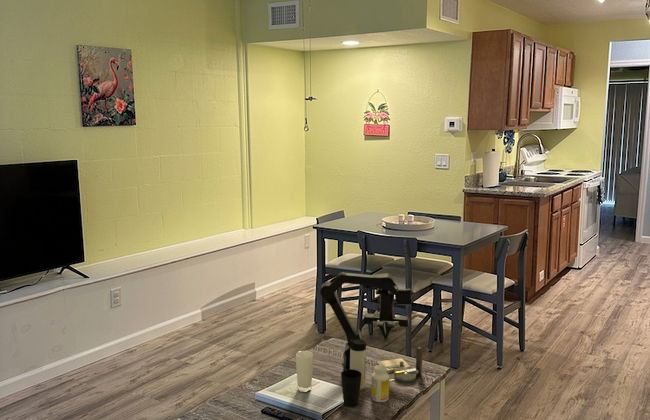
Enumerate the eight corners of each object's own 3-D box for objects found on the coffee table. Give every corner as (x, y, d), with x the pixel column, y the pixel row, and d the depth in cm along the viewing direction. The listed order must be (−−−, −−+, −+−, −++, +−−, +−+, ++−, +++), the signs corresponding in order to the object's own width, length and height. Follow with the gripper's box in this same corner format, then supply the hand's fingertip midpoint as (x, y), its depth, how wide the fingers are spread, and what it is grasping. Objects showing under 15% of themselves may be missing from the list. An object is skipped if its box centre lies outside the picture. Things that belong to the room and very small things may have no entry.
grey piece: (400, 384, 240) (401, 356, 238) (390, 374, 248) (390, 347, 246) (427, 379, 245) (428, 351, 242) (415, 370, 253) (416, 343, 251)
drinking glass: (305, 384, 240) (305, 349, 237) (316, 390, 235) (316, 354, 232) (292, 389, 235) (292, 353, 232) (304, 395, 230) (304, 359, 228)
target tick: (389, 381, 243) (389, 380, 242) (388, 380, 243) (388, 379, 243) (394, 380, 244) (394, 379, 243) (393, 379, 244) (393, 378, 244)
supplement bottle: (390, 396, 230) (391, 365, 228) (386, 404, 224) (387, 372, 222) (373, 393, 233) (374, 362, 230) (369, 401, 226) (369, 369, 224)
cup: (361, 399, 228) (361, 369, 226) (360, 409, 220) (361, 378, 218) (341, 398, 229) (341, 368, 226) (339, 408, 221) (340, 377, 219)
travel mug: (346, 385, 238) (347, 338, 235) (361, 382, 241) (361, 336, 238) (353, 392, 233) (353, 344, 229) (368, 389, 235) (369, 341, 232)
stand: (385, 373, 250) (385, 365, 249) (376, 364, 258) (376, 357, 258) (410, 369, 254) (411, 362, 253) (401, 360, 262) (401, 353, 262)
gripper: (410, 299, 256) (409, 334, 258) (366, 296, 259) (366, 330, 262) (408, 308, 245) (407, 343, 248) (363, 304, 249) (362, 340, 251)
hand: (385, 339), depth 252 cm, fingers closed
